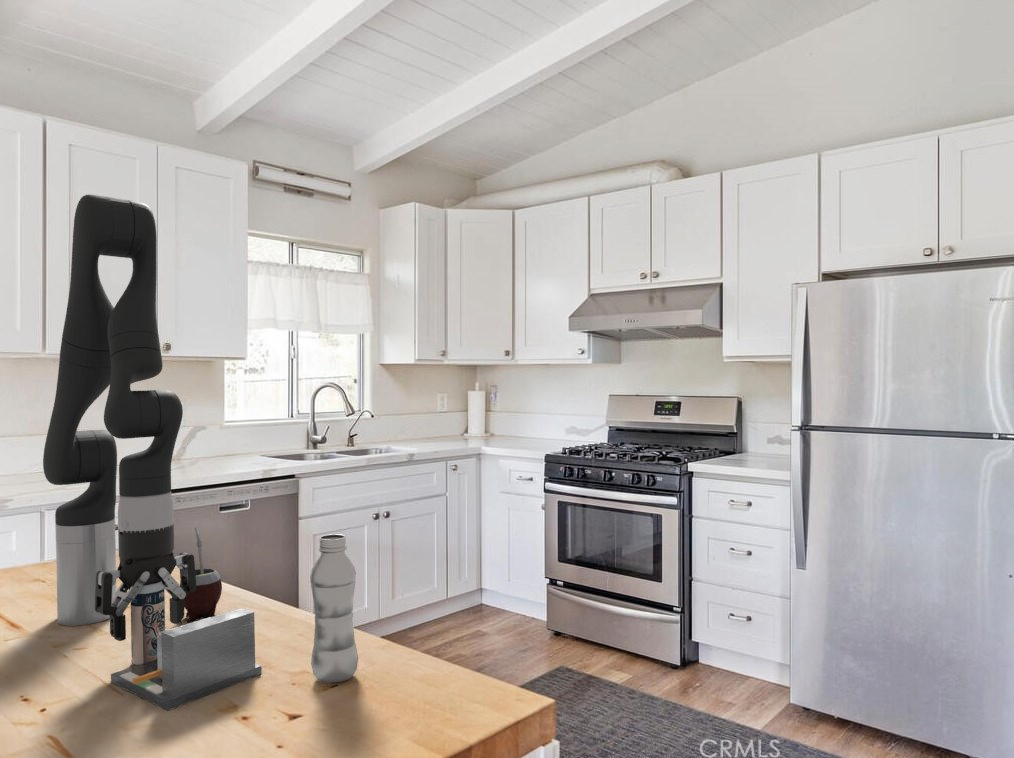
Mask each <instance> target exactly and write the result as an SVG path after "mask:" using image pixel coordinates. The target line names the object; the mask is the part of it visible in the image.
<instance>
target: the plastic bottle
mask: <svg viewBox="0 0 1014 758" xmlns="http://www.w3.org/2000/svg"><path fill="white" fill-rule="evenodd" d="M346 539H347V538H346V535H345V534H342V533H341V534H339V533H338V534H337V533H331V534H325V535H321V536H320V537H319V547H318V551H319V552H320V555H319V556H318V559H317V560H316V561H315V562H314V565H313V566H312V568H311V570H310V575H309V583H310V589H311V595H312V599H313V600H312V601H313V613H314V636H313V638H314V639H313V648H312V653H311V661H310V665H311V670H312V674H313V676H314V677H315V679H316V680H317V681H319V682H321V683H325V684H331V683H332V684H334V683H341V682H345V681H347V680H350V679H351V678H352V677H353V676H354V675H355V673H356V671H357V670H358V664H359V654H358V648H357V644H356V639H355V629H354V628H355V627H354V621H353V619H354V618H353V617H354V612H353V611H354V596H355V589H356V580H357V572H356V568H355V565H354V564H353V562H352V561H351V559H350V558H349V556H347V554H346V552H345V551H346V550H347V544H346V543H347V540H346Z"/></svg>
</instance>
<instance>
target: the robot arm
mask: <svg viewBox="0 0 1014 758" xmlns="http://www.w3.org/2000/svg"><path fill="white" fill-rule="evenodd" d="M73 218H74V219H73V229H72V244H71V245H72V247H71V248H72V249H71V264H70V265H71V266H70V267H71V268H70V269H71V270H70V271H71V272H70V280H69V281H70V282H69V291H68V299H67V300H68V301H67V306H66V312H65V319H64V324H63V330H62V335H61V344H60V348H59V349H60V350H59V360H58V362H59V363H58V373H57V381H56V382H57V383H56V390H55V391H56V392H55V397H54V403H53V407H52V412H51V416H50V421H49V425H48V430H47V435H46V437H45V442H44V448H43V456H42V457H43V459H42V466H43V468H42V469H43V474H44V477H45V479H46V480H47V482H48V483H50V484H52V485H54V486H67V485H70V486H71V485H76V484H78V485H79V484H85V483H89V485H88V488H87V489H86V490H85V491H84V492H83V493H82V494H80V495H79V496H77V497H75V498H74V499H72V500H69V501H67V502H65V503H63V504H60V505H59V506H58V507H57V508H56V510H55V514H54V519H55V520H54V521H55V556H56V559H55V561H56V564H55V565H56V596H57V597H56V604H57V605H56V606H57V607H56V610H57V612H56V613H57V615H56V616H57V623H58V624H60V625H61V626H83V625H91V624H95V623H99V622H102V621H106V620H109V634H110V636H111V637H112V638H114V640H116V641H118V642H122V641H125V640H126V639H127V630H126V628H127V627H126V626H127V625H126V622H127V621H126V620H127V619H126V618H127V617H126V614H124V613H125V611H126V610H127V608H128V607H129V605H130V604H131V602H132V601H133V600H134V599H135V597H136V595H137V594H138V592H139V591H140V589H141V587H142V586H145V585H150V584H154V583H158V582H162V584H163V585H165V588H164V591H166V592H167V593H168V594H169V596H171V597H170V598H169V622H170V623H171V624H174V625H178V624H179V625H180V624H181V623H182V621H183V619H184V617H185V607H184V598H185V596H186V595H187V594H189V593H190V592H194V591H195V590H196V574H195V569H196V564H195V563H196V561H195V555H194V554H191V553H187V552H185V551H184V552H179V555H177V556H175V555H174V550H175V520H174V519H175V512H174V502H173V496H172V461H173V457H174V456H173V455H174V451H175V445H176V443H177V438H178V434H179V433H180V429H181V425H182V421H183V415H184V411H183V410H184V409H183V405H182V401H181V400H180V397H179V396H178V395H177V394H176V393H175V392H173V391H171V390H168V389H155V390H154V389H153V390H150V389H149V390H148V389H147V390H131V384H134V383H137V382H142V381H146V380H150V379H152V378H154V377H157V376H158V375H160V373H162V370H163V357H162V356H163V355H162V350H161V343H160V335H159V330H158V329H159V328H158V320H157V274H158V269H157V266H158V265H157V263H158V261H157V255H158V254H157V253H158V252H157V251H158V250H157V246H158V245H157V241H158V240H157V239H158V238H157V225H156V219H155V216H154V213H153V211H152V209H151V208H150V206H148V205H147V204H146V203H143V202H141V201H136V200H130V199H123V198H119V197H117V198H116V197H111V196H105V195H98V194H85V195H83V196H81V197H80V199H79V201H78V202H77V205H76V208H75V213H74V217H73ZM100 256H105V257H106V256H107V257H114V258H115V257H116V258H126V259H131V262H132V274H131V277H130V279H129V280H130V281H128V285H127V286H126V288H125V290H124V291H123V293H122V294H121V296H120V298H119V299H118V300H117V302H116V304H115V306H113V304H112V302H111V300H110V299H109V297H108V296H107V293H106V291H105V289H104V286H103V285H102V284H103V283H102V281H101V278H100V274H99V258H100ZM107 388H108V389H109V390H108V394H107V398H106V403H105V407H104V411H103V423H104V426H105V428H106V429H92V430H91V429H90V430H78V428H79V425H80V422H81V420H82V418H83V417H84V415H85V413H86V412H87V410H88V409H89V408H90V407H91V406H92V404H93V403H94V402H95V401H96V400H97V399H98V398H99V397H100V396H101V395H102V394H103V393H104V392H105V391H106V389H107ZM115 438H116V439H121V440H123V439H124V440H125V439H126V440H127V439H138V438H139V439H140V438H153V439H152V442H151V443H150V445H149V446H148V447H147V448H146V449H144V450H142V451H138V452H135V453H132V454H129V455H125V456H124V457H122V458H121V459H120V461H119V465H118V449H117V447H118V446H117V443H116V439H115ZM117 469H118V470H117ZM117 472H118V473H117ZM117 474H118V488H119V493H118V494H119V499H118V507H117V523H118V524H117V532H118V533H117V534H118V537H117V538H118V543H117V544H118V558H119V559H118V560H119V564H118V567H117V552H116V551H117V546H116V545H117V544H116V541H117V540H116V503H117ZM175 568H177V569H179V576H180V577H179V578H180V580H181V586H180V583H179V582H178V581H177V580H176V579H175V578H174V577H173V576H172V574H173V571H174V569H175ZM117 579H119V580H120V581H121V583H120V584H119V587H117ZM180 580H179V581H180Z"/></svg>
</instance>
